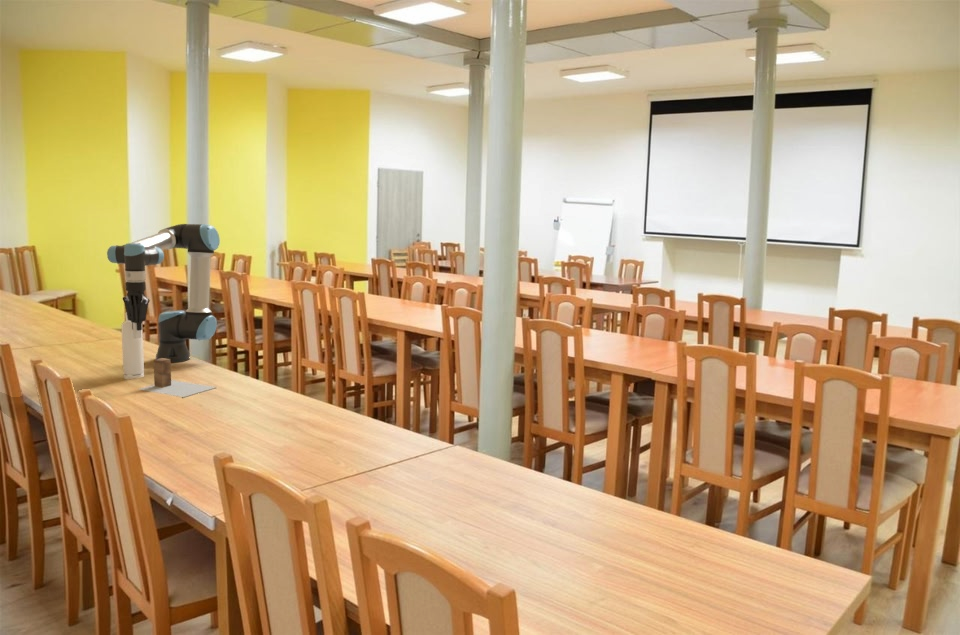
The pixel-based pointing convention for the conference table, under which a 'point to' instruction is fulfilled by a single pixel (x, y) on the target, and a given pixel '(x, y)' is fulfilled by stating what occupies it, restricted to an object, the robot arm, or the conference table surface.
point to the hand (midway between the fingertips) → (137, 337)
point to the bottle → (132, 352)
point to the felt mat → (179, 389)
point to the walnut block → (162, 372)
